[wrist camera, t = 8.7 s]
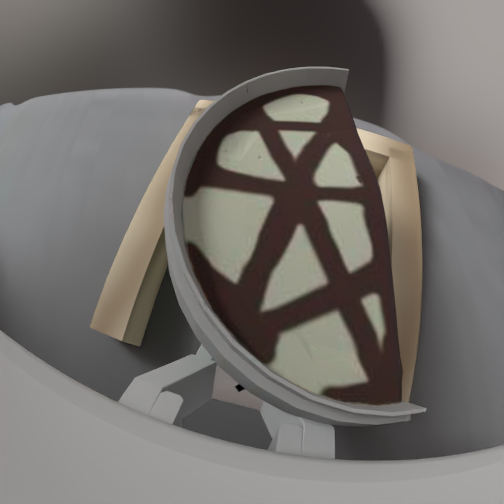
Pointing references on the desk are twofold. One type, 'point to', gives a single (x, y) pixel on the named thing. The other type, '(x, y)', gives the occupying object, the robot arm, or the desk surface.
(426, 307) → the desk surface
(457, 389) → the desk surface
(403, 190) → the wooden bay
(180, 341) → the desk surface
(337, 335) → the food container
